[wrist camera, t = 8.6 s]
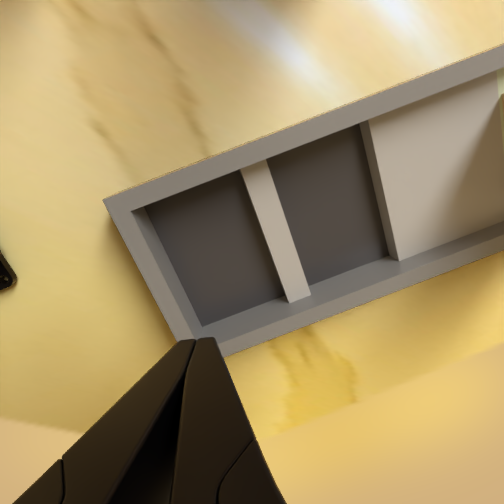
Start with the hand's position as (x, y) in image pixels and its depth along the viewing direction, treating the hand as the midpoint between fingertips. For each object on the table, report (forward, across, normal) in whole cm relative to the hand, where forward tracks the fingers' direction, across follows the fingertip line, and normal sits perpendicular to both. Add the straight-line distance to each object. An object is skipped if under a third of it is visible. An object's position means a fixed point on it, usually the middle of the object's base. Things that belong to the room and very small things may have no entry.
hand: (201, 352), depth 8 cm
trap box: (+14, -10, 0) cm, 17 cm away
